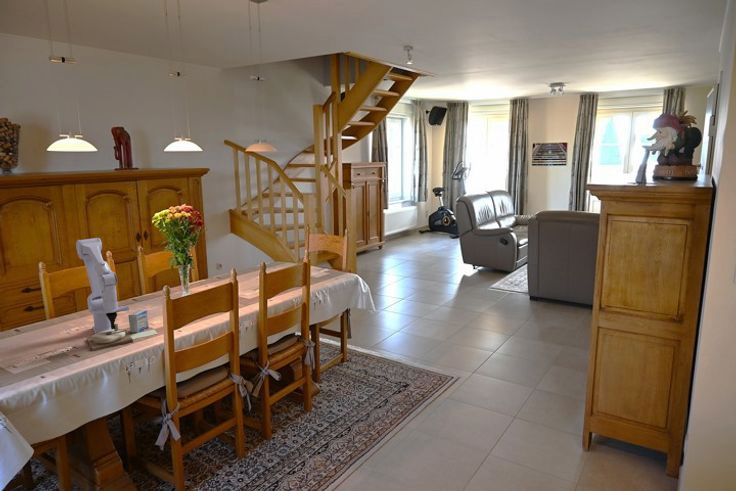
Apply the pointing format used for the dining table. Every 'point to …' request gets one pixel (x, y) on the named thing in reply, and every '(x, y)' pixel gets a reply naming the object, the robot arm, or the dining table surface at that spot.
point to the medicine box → (138, 321)
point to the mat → (143, 334)
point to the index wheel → (109, 335)
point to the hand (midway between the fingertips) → (113, 328)
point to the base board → (105, 345)
